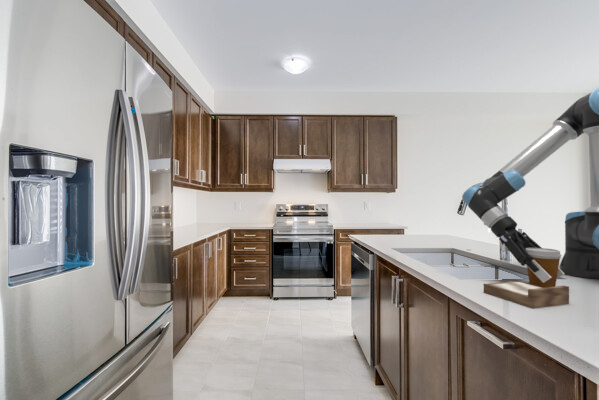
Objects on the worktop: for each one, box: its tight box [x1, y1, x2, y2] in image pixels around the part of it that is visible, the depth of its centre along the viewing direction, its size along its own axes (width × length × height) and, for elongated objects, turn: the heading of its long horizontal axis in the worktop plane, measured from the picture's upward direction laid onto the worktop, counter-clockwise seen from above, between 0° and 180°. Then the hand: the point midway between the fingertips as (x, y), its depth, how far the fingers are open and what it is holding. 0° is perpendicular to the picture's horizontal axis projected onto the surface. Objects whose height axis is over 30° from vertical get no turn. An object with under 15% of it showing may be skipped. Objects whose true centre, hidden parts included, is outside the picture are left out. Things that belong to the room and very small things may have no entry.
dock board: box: [483, 280, 570, 309], centre depth 93 cm, size 13×15×4 cm
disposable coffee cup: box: [525, 247, 563, 288], centre depth 103 cm, size 10×10×12 cm
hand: (554, 278), depth 100 cm, fingers closed on disposable coffee cup, 9 cm apart
